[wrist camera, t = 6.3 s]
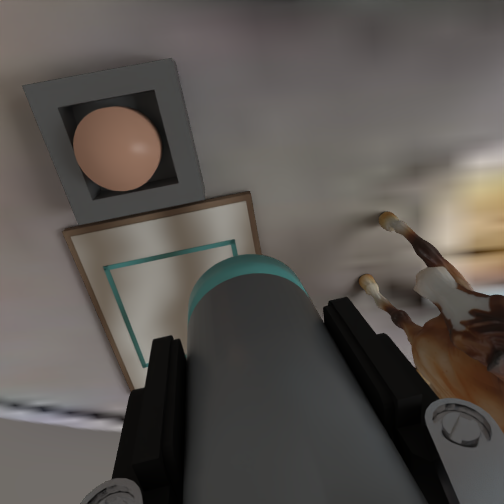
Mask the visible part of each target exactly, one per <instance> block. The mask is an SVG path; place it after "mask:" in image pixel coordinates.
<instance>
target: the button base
mask: <svg viewBox="0 0 504 504" xmlns="http://www.w3.org/2000/svg"><path fill="white" fill-rule="evenodd" d="M22 87H23V89H24V92H25V94H26V97H27V99H28V102H29V104H30V107H31V109H32V112H33V114H34V116H35V119H36V121H37V124H38V126H39V129H40V131H41V134H42V136H43V139H44V141H45V144H46V146H47V149H48V151H49V153H50V156H51V158H52V161H53V163H54V166H55V168H56V171H57V173H58V176H59V178H60V181H61V183H62V186H63V188H64V190H65V193H66V195H67V198H68V200H69V203H70V205H71V208H72V210H73V213H74V215H75V218H76V220H77V223H78V225H83V224H88V223H92V222H97V221H102V220H107V219H112V218H117V217H122V216H127V215H132V214H137V213H142V212H147V211H151V210H156V209H161V208H166V207H171V206H176V205H181V204H186V203H191V202H196V201H201V200H205V187H204V183H203V178H202V174H201V170H200V166H199V161H198V157H197V153H196V148H195V144H194V140H193V135H192V131H191V127H190V123H189V118H188V114H187V110H186V105H185V101H184V97H183V92H182V88H181V84H180V80H179V75H178V71H177V67H176V62H175V61H174V60H173V59H172V58H169V59H163V60H158V61H152V62H147V63H142V64H136V65H131V66H125V67H120V68H114V69H109V70H104V71H98V72H93V73H87V74H82V75H76V76H71V77H66V78H60V79H55V80H49V81H44V82H38V83H33V84H28V85H22ZM112 106H126V107H130V108H134V109H136V110H138V111H140V112H142V113H143V114H145V115H146V116H147V117H148V118H149V119H150V120H151V121H152V122H153V123H154V125H155V126H156V128H157V129H158V131H159V134H160V136H161V140H162V147H163V150H162V157H161V161H160V163H159V165H158V167H157V169H156V170H155V172H154V174H153V175H152V177H151V178H150V179H149V180H148V181H147V182H146V183H145V184H143V185H142V186H140V187H138V188H136V189H133V190H128V191H114V190H110V189H107V188H104V187H102V186H100V185H98V184H96V183H95V182H93V181H92V180H91V179H90V178H89V177H88V176H87V175H86V174H85V173H84V172H83V171H82V169H81V168H80V166H79V164H78V162H77V160H76V157H75V154H74V147H73V141H74V135H75V131H76V129H77V126H78V125H79V123H80V122H81V120H82V119H83V118H84V117H85V116H87V115H88V114H89V113H91V112H93V111H95V110H97V109H101V108H106V107H112Z"/></svg>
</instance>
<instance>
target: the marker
mask: <svg viewBox="0 0 504 504" xmlns="http://www.w3.org/2000/svg"><path fill="white" fill-rule="evenodd" d="M183 504H428V502H427V501H426V499H425V497H424V495H423V494H422V492H421V490H420V488H419V487H418V485H417V483H416V481H415V480H414V478H413V476H412V475H411V473H410V471H409V469H408V468H407V466H406V464H405V462H404V461H403V459H402V457H401V455H400V454H399V452H398V450H397V449H396V447H395V445H394V443H393V442H392V440H391V438H390V436H389V435H388V433H387V431H386V429H385V428H384V426H383V424H382V423H381V421H380V419H379V417H378V416H377V414H376V412H375V410H374V409H373V407H372V405H371V404H370V402H369V400H368V398H367V397H366V395H365V393H364V391H363V390H362V388H361V386H360V384H359V383H358V381H357V379H356V378H355V376H354V374H353V372H352V371H351V369H350V367H349V365H348V364H347V362H346V360H345V358H344V357H343V355H342V353H341V352H340V350H339V348H338V346H337V345H336V343H335V341H334V339H333V338H332V336H331V334H330V332H329V331H328V329H327V327H326V326H325V324H324V322H323V320H322V319H321V317H320V315H319V313H318V312H317V310H316V308H315V307H314V305H313V303H312V301H311V300H310V298H309V296H308V294H307V293H306V291H305V289H304V287H303V286H302V284H301V282H300V281H299V279H298V277H297V276H296V274H295V273H294V272H293V271H292V270H291V269H290V268H289V267H288V266H287V265H285V264H284V263H282V262H280V261H279V260H277V259H274V258H271V257H268V256H264V255H257V254H244V255H237V256H234V257H230V258H227V259H225V260H222V261H220V262H219V263H217V264H215V265H214V266H212V267H211V268H209V269H208V270H207V271H206V272H205V273H204V274H203V275H202V276H201V277H200V278H199V279H198V281H197V282H196V284H195V286H194V287H193V290H192V292H191V294H190V298H189V303H188V326H187V363H186V400H185V437H184V474H183Z"/></svg>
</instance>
